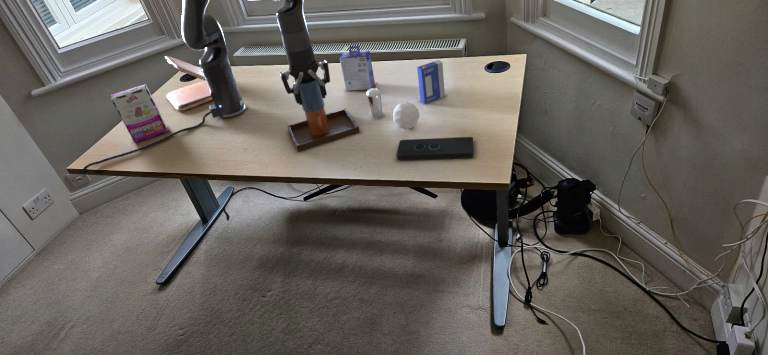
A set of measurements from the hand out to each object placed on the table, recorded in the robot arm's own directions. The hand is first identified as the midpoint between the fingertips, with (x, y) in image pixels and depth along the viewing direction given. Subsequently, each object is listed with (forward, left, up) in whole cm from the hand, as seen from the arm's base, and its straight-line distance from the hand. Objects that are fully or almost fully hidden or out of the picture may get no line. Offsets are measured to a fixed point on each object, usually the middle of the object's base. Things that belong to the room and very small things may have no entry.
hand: (311, 100), depth 138 cm
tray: (+1, 0, -11) cm, 11 cm away
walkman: (+38, 0, -11) cm, 40 cm away
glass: (0, 0, -2) cm, 2 cm away
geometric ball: (+24, -12, -11) cm, 29 cm away
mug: (0, -1, -10) cm, 10 cm away
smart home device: (+25, -29, -11) cm, 40 cm away
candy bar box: (-52, +34, -11) cm, 63 cm away
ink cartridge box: (+21, +24, -11) cm, 33 cm away
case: (-35, +58, -11) cm, 68 cm away
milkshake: (+19, 0, -11) cm, 22 cm away
